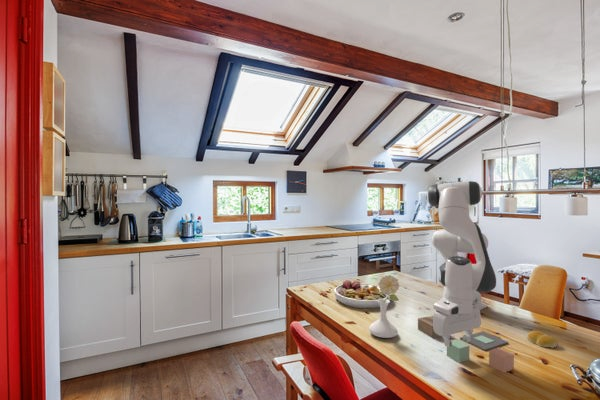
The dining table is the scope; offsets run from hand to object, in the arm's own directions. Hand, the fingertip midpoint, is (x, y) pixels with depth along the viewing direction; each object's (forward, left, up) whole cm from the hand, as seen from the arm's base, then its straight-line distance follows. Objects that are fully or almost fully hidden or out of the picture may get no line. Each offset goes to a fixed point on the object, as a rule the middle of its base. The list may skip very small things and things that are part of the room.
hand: (457, 343), depth 106 cm
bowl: (-5, -62, -6) cm, 63 cm away
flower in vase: (+12, -24, -5) cm, 27 cm away
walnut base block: (-8, -18, -5) cm, 21 cm away
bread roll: (-40, +6, -6) cm, 41 cm away
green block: (0, 0, -5) cm, 5 cm away
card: (-20, -4, -5) cm, 21 cm away
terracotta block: (-8, +10, -5) cm, 14 cm away
